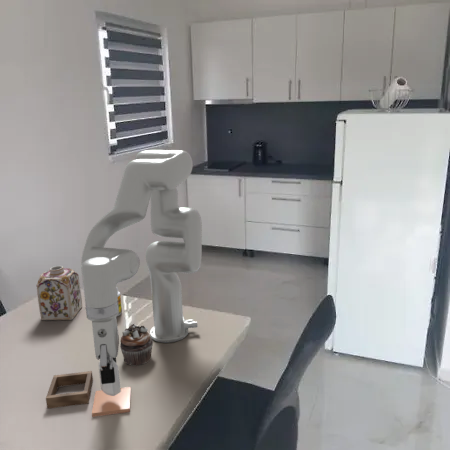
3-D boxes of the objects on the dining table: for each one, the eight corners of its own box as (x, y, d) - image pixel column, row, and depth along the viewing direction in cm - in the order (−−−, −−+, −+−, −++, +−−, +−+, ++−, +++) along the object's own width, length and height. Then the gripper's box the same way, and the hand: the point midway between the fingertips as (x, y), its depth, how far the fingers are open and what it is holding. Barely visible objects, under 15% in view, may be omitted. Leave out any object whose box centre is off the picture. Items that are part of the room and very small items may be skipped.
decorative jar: (72, 320, 158) (66, 273, 153) (40, 321, 158) (33, 273, 154) (83, 306, 170) (78, 261, 165) (53, 306, 170) (46, 262, 165)
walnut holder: (93, 380, 123) (91, 370, 122) (88, 403, 113) (87, 393, 112) (55, 385, 121) (53, 375, 120) (47, 408, 111) (45, 398, 111)
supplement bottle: (111, 319, 158) (108, 292, 156) (103, 314, 162) (100, 288, 160) (125, 313, 162) (122, 287, 159) (117, 309, 166) (114, 283, 163)
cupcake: (115, 365, 130) (112, 334, 127) (130, 348, 139) (128, 318, 136) (145, 369, 127) (142, 337, 125) (159, 351, 136) (157, 321, 134)
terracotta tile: (131, 389, 118) (130, 386, 118) (129, 411, 109) (129, 408, 109) (96, 394, 117) (95, 390, 116) (92, 416, 108) (91, 413, 108)
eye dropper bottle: (103, 399, 109) (98, 355, 106) (100, 386, 114) (95, 344, 111) (121, 394, 110) (117, 351, 107) (117, 382, 115) (113, 340, 112)
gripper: (116, 323, 99) (123, 394, 103) (120, 293, 115) (126, 356, 120) (81, 327, 98) (89, 398, 102) (90, 296, 114) (97, 359, 118)
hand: (109, 375), depth 111 cm, fingers closed on eye dropper bottle, 5 cm apart
